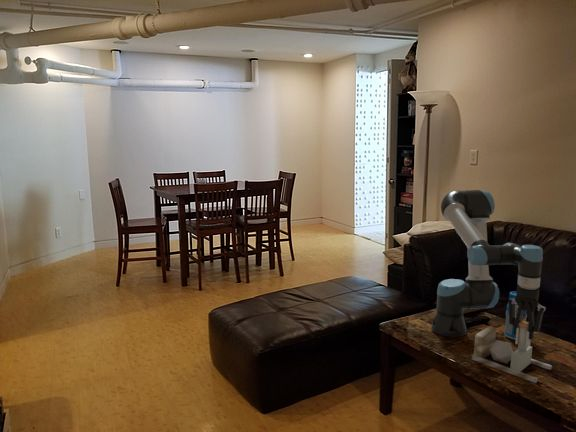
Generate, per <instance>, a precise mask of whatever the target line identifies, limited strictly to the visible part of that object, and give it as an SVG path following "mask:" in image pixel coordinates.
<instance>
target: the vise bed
mask: <svg viewBox="0 0 576 432" xmlns="http://www.w3.org/2000/svg"><path fill="white" fill-rule="evenodd" d="M496 333H497V328H496V327H495V328H494V327H492V326H487V327H486V328H484V329H483V330H481V331H479V332H477V333H476V334H475V335H474V346H473V354H472V355H471V360H473V361H475V362H478V363H480V364H483V365H485V366H486V365H487V366H488V367H492V368H493V369H497V370H499V371H502V372H505V373H508V374H510V375H512V376H516V377H519V378H521V379H524V380H526V381H530V382H531V383H534V384H537V383H538V378H537V377H536V376H533V375H531V374H528V373H525V372H523V371H521V372H519V371H516V370H514V369H511V368H510V367H508V366H505V365H504V364H503V365H502V364H499V363H497V362H495V361H492V360H489V359H487V358H486V357H488V356H490V355H492V354H491V352H490V348H491V347H492V345H493V344H494V343H495V342H496V336H497V335H496ZM530 365H535V366H537V367H540V368H543V369H546V370H549V371H551V370H552V367H553V365H551V364H549V363H545V362H543V361H541V360H540V361H539V360H536V359H533V358H531V363H530Z"/></svg>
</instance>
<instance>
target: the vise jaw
mask: <svg viewBox="0 0 576 432" xmlns="http://www.w3.org/2000/svg"><path fill="white" fill-rule="evenodd" d="M519 326H520V332H519V342H518V344H517V349H516V350H513V353H512V354H511V359H510V366H509V368H511V369H514V370H516V371H519V372H523V370H524V369H526V368H527V367H528V366H529V365H531V359H532V354H533V353H532V352H533V346H531V345H530V346H529V347H528V348H526V347H525V344H526V334H527V331H528V330H529V322H528V321H527V320H526V321H520V322H519Z"/></svg>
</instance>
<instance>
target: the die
mask: <svg viewBox="0 0 576 432" xmlns="http://www.w3.org/2000/svg"><path fill="white" fill-rule="evenodd" d="M490 352H491V354H490V355H491V358H492V360H493V362H498V363H501V364H505V365H507V364H509V362H511V354H512V353H513V352H514V350H513V347H512V344H511V342H507V341H503V340H499V339H495V343H494V344H493V345H492V347H491V348H490Z"/></svg>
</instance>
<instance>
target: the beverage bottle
mask: <svg viewBox="0 0 576 432" xmlns="http://www.w3.org/2000/svg"><path fill="white" fill-rule="evenodd" d="M516 292H517V290H515V291H514V290H513V291H510V292H509V297H508V300H509V299H510V298H515V297H516ZM515 302H516V301H515ZM518 307H519V306H518V305H517V303H515V320H516V316H517V312H518ZM527 318H528V314H527V311H526V310H524V311H523V315H522V318H521V321H526V322H527ZM504 324H505V326H504V333H503V334H504V336H505V337H507V338H509V339H511V340H516V335H514V326H513V325H512V324H510V323H509V303H508V302H507V305H506V310H505V323H504Z"/></svg>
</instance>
